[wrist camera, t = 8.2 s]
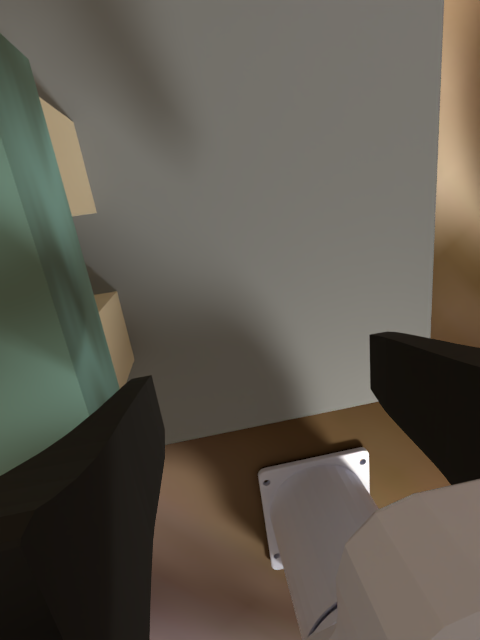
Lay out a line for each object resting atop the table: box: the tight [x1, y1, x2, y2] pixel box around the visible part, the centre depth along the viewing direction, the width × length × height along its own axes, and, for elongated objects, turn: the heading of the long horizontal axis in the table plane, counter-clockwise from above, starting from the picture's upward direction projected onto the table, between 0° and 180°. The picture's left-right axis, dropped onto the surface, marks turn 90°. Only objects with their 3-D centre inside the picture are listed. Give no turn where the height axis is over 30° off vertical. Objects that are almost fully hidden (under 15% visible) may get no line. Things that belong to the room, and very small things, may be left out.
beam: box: [0, 33, 120, 476], centre depth 12 cm, size 14×4×4 cm, turn 7°
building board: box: [0, 0, 444, 445], centre depth 17 cm, size 24×26×5 cm
